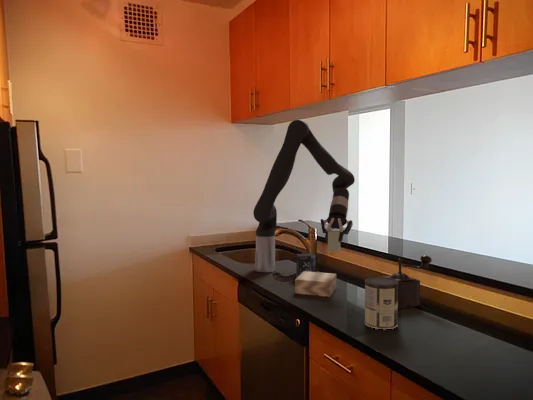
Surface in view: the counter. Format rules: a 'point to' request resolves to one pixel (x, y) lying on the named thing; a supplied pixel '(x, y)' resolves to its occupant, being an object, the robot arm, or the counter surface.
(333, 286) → the maple block
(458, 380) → the counter surface
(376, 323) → the coffee can
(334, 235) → the green block
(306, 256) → the box
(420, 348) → the counter surface
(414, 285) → the coffee grinder
